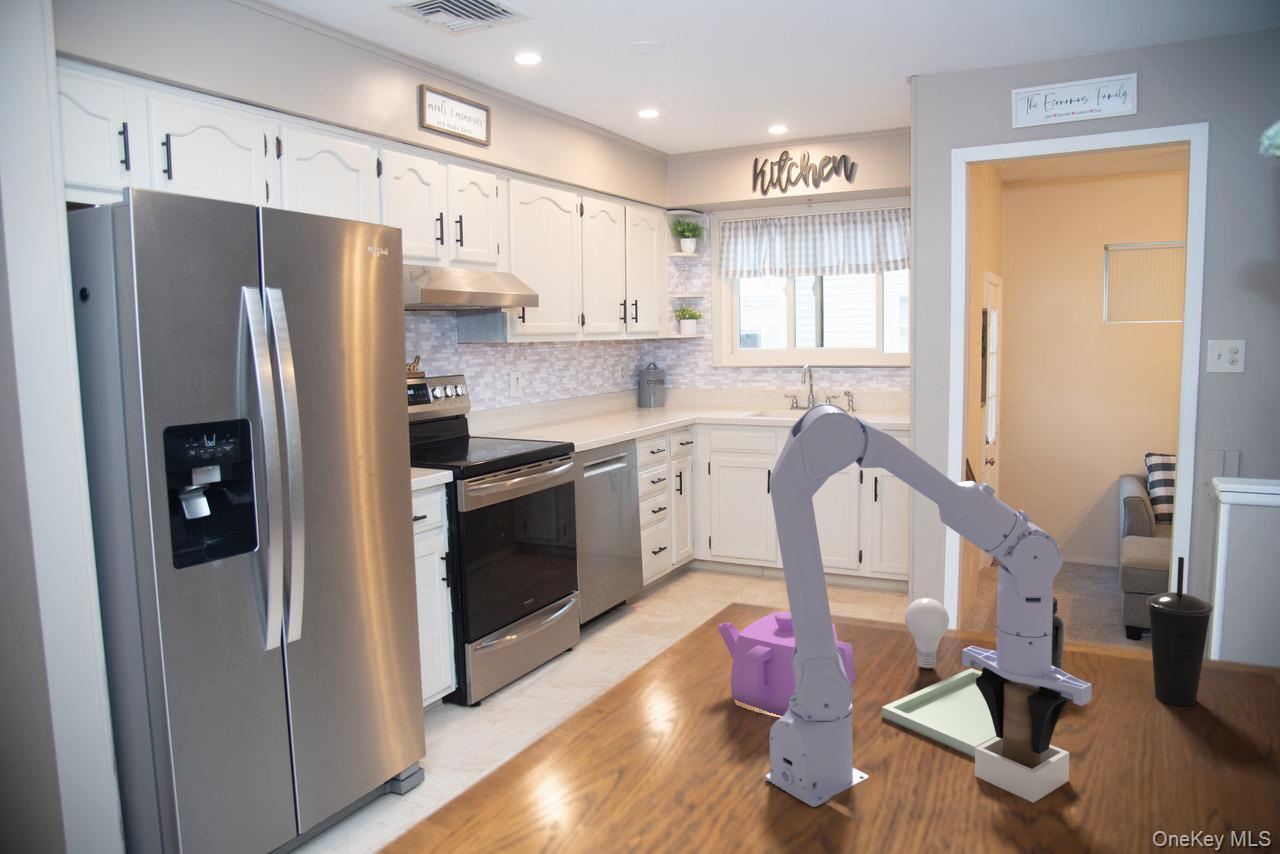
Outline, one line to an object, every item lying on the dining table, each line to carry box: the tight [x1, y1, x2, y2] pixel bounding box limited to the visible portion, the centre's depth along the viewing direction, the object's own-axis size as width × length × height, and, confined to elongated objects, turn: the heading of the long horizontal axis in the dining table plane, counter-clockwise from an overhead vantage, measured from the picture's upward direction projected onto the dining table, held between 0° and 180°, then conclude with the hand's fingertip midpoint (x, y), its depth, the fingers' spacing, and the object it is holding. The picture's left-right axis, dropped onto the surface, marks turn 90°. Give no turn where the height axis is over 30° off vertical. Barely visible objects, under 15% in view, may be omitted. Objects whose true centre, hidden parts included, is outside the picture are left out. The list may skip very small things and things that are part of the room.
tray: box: [881, 667, 1065, 759], centre depth 116 cm, size 20×14×2 cm
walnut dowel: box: [1003, 680, 1041, 769], centre depth 99 cm, size 4×4×11 cm
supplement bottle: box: [1051, 596, 1065, 671], centre depth 128 cm, size 7×7×12 cm
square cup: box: [974, 737, 1070, 804], centre depth 100 cm, size 7×7×4 cm
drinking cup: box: [1146, 556, 1214, 707], centre depth 118 cm, size 8×8×20 cm
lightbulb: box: [904, 597, 950, 670], centre depth 132 cm, size 6×6×11 cm
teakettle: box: [717, 611, 856, 716], centre depth 124 cm, size 17×17×12 cm
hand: (1022, 742), depth 99 cm, fingers closed on walnut dowel, 4 cm apart
